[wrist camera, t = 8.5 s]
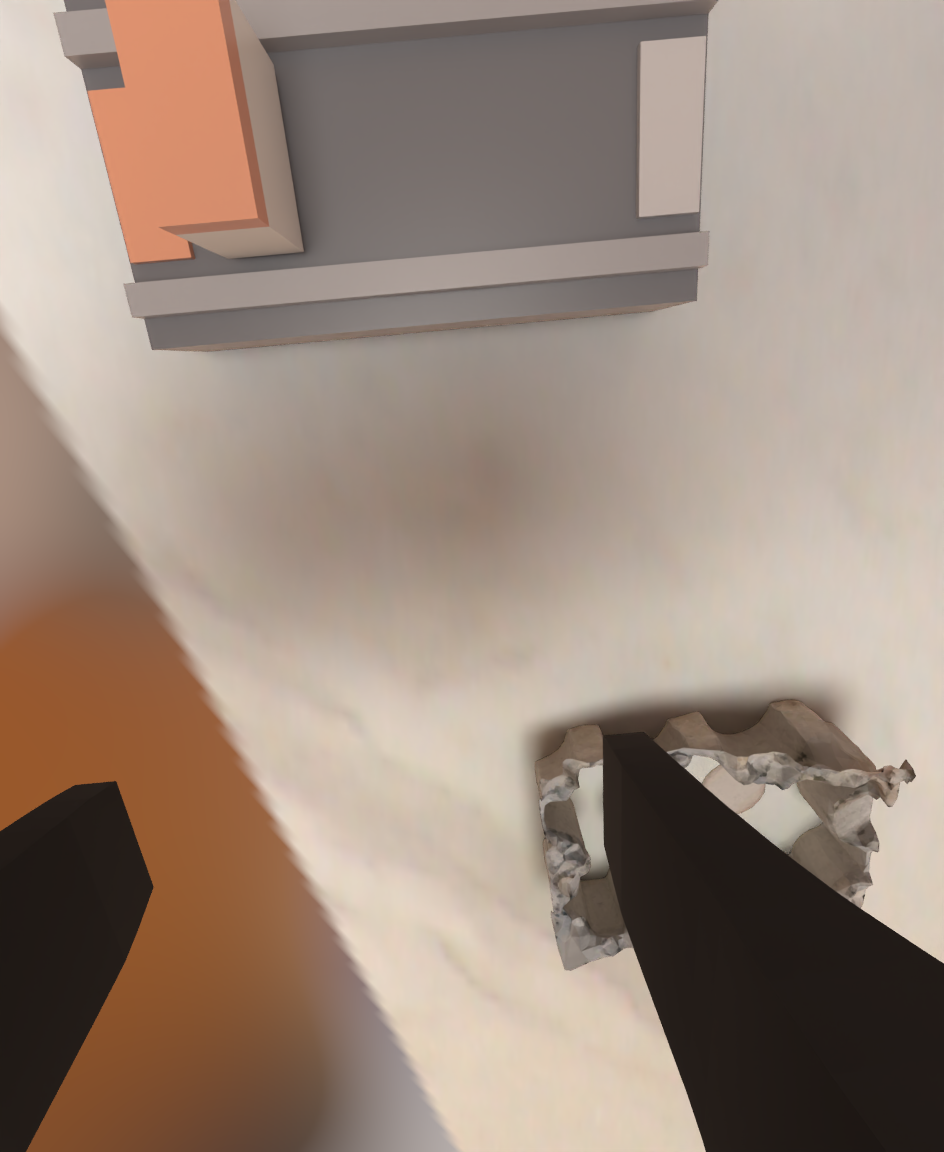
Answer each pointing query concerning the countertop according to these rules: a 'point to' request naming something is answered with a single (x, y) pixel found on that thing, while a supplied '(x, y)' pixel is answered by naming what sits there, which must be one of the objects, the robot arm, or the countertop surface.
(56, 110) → the countertop surface
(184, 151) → the breaker handle
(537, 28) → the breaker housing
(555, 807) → the egg carton
